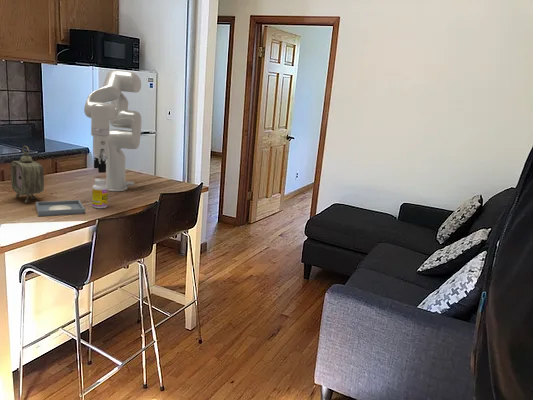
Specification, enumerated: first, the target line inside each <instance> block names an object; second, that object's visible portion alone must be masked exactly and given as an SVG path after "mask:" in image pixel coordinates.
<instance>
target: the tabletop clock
mask: <svg viewBox="0 0 533 400" xmlns="http://www.w3.org/2000/svg"><path fill="white" fill-rule="evenodd" d="M24 149H26V150H27V151H28V152H27V151H25V150H24ZM22 153H23V154H24V155H22V156H21V157H20V158H19V160H11V162H10V178H11V181H10V183H11V187H12V190H13V191H14V192H15V193H16V194H15V197H16V198H19V197H20V196H24V195H25V196H26V199H25V200H24V203H26V204H28V203H29V202H30V201H29V197H30V198H31V200H35V199H36V196H35V195H34V194H41V192H43V191H44V189H45V179H44V177H45V176H44V167H43V165H42V164H40V163H39V162H36V161H35V160H33V158H32V156H30V148H29V147H28V145H23V146H22Z"/></svg>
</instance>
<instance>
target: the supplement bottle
mask: <svg viewBox="0 0 533 400" xmlns="http://www.w3.org/2000/svg"><path fill="white" fill-rule="evenodd" d="M91 190H92V191H91V192H92V197H91V200H92V201H91V206H92V208H94V209H105V208H107V207H108V200H109V199H108V198H109V197H108V193H109V191H108V187H107V185H106V178H95V179H94V184H93V185H92V189H91Z"/></svg>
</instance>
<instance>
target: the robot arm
mask: <svg viewBox="0 0 533 400" xmlns="http://www.w3.org/2000/svg"><path fill="white" fill-rule="evenodd" d="M141 89H142V81H141V78H140V77H139V75H138V74H136V72H133V71H129V70H118V69H113V70H109V71H108V72H107V73H106V76H105V79H104V81H103V85H102V87H100V88H97V89H96V90H94V91H92V92H91V93H89V94H88V96H87V98H86V101H85V104H84V109H83V110H84V114H85V116H86V117H87V118H89V119H91V121H90V124H91V125H90V135H91V136H92V137H93V141H92V142H93V143H92V144H93V145H92V148H93V149H92V152H93V156H94V157H93V168H94V169H97V171H98V173H99V174H103V173H104V174H105V180H106V183H105V185H107V187H108V192H123V191H126V190H128V189H129V188H128V186H135V181H130V180H128V181H127V180H126V155H125V152H124V151H123V150H122V149H127V150H137V149H138V148H139V147H140V143H141V131H142V115H141V113H140V112H139V111H136V110H130V109H128V108H129V100H128V98H127V96H125V94H124V93H125V92H126V93H133V94H134V93H139V92H140V91H141ZM123 92H124V93H123ZM110 126H111V127H113V128H111V129H110ZM115 128H116V129H115ZM125 129H127V130H125Z"/></svg>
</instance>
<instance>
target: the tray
mask: <svg viewBox="0 0 533 400" xmlns="http://www.w3.org/2000/svg"><path fill="white" fill-rule="evenodd" d="M35 209H36V212H37V215H38V217H53V216H68V215H83V214H86V208H85V206H84V205H83V203H82V202H81V200H80V199H75V200H74V199H73V200H69V199H68V200H52V201H51V200H50V201H49V200H48V201H35Z"/></svg>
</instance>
